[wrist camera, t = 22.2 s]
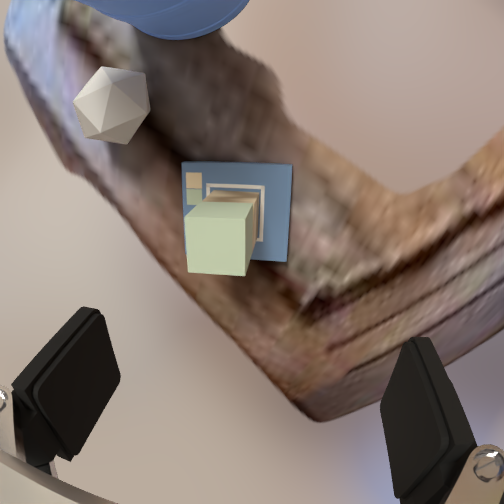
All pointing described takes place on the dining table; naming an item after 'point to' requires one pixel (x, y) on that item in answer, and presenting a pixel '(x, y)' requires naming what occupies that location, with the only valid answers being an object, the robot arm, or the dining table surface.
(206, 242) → the green block
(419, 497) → the robot arm
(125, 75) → the die
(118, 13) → the water jug
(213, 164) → the board
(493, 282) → the dining table surface
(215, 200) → the pine block
